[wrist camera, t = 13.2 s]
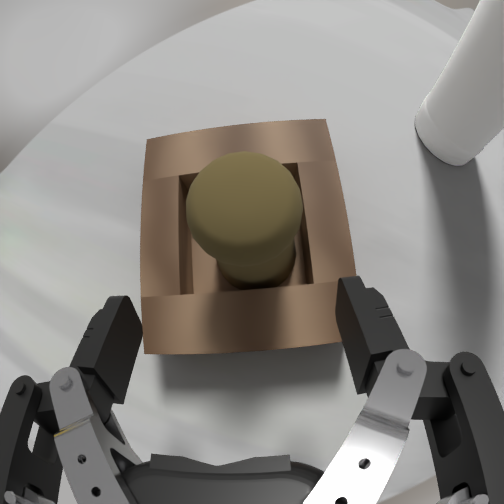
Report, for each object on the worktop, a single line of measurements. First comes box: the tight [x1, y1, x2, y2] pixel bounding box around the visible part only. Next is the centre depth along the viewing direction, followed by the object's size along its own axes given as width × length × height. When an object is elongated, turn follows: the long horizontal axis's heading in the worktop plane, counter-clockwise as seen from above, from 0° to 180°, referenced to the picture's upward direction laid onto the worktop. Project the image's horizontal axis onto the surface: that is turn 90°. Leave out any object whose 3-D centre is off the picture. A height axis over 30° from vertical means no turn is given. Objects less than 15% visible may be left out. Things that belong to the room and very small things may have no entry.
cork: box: [186, 151, 303, 290], centre depth 17 cm, size 6×6×11 cm
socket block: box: [140, 119, 356, 354], centre depth 21 cm, size 14×16×4 cm
